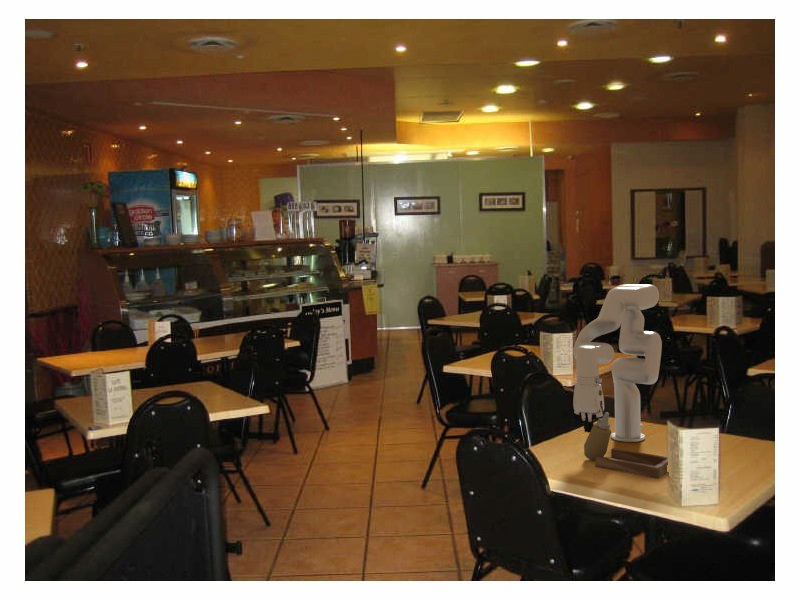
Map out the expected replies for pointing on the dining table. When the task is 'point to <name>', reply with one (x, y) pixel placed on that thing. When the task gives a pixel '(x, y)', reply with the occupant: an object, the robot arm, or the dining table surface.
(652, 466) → the brown wooden tray
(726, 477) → the dining table surface
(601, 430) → the squeeze bottle
